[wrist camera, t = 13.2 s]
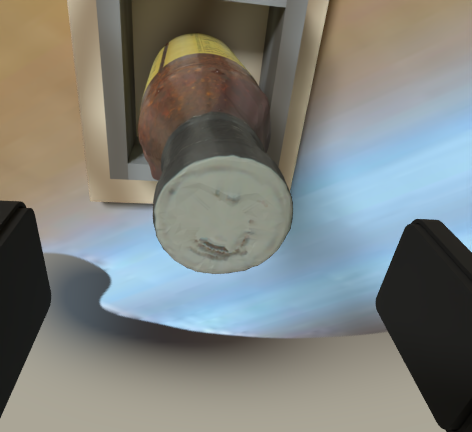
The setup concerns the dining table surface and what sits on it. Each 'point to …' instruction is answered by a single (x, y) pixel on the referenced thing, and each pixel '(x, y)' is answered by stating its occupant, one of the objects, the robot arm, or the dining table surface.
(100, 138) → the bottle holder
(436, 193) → the dining table surface
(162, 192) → the sauce bottle
